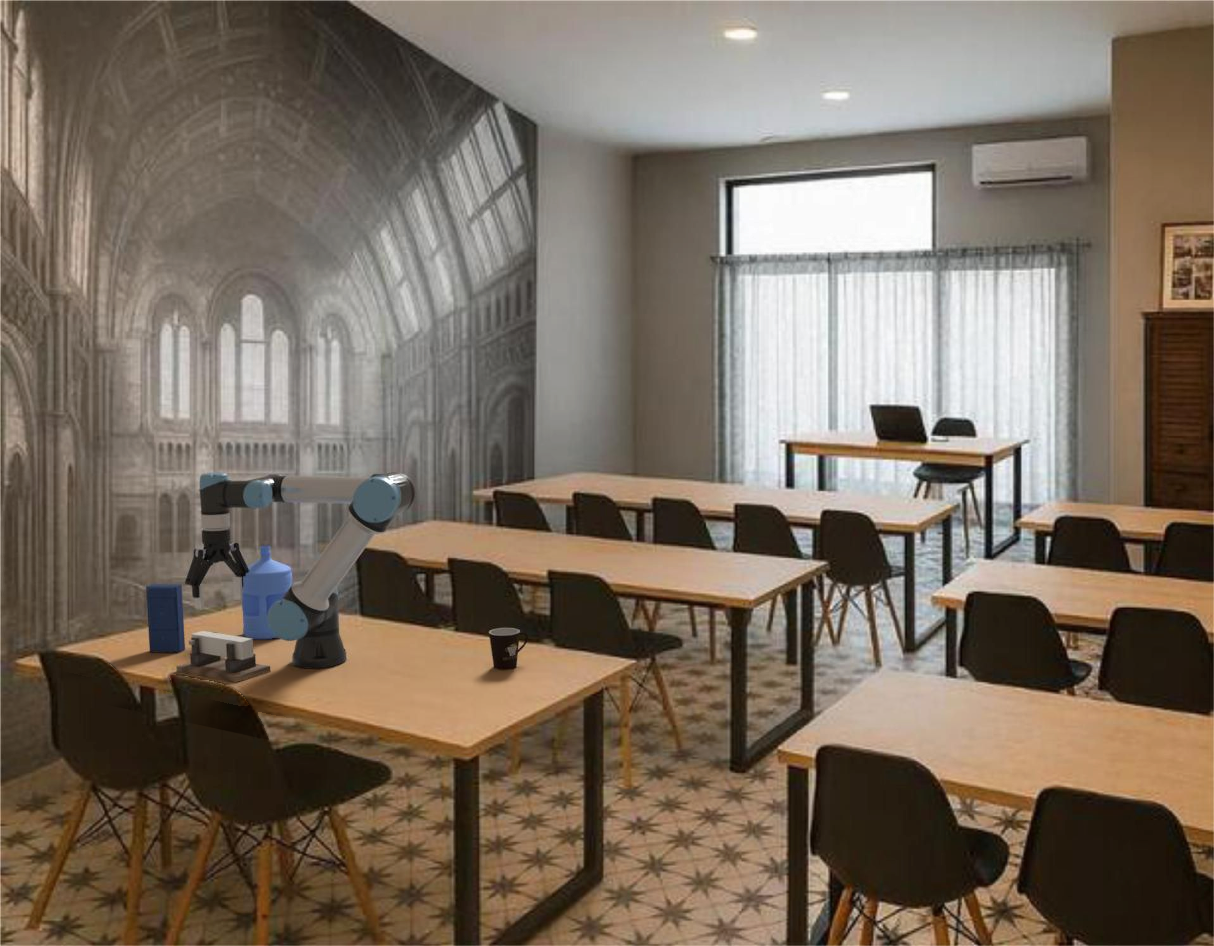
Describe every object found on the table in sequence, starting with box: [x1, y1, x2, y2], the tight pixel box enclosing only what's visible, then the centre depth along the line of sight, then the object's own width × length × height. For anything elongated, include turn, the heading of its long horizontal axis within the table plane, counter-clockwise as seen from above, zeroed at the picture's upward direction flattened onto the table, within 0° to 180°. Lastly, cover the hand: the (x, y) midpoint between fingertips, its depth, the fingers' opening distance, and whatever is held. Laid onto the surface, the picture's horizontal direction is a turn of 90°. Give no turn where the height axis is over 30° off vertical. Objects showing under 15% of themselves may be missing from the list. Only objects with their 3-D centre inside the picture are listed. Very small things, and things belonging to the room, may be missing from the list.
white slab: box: [190, 630, 254, 660], centre depth 317 cm, size 20×4×5 cm, turn 60°
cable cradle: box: [176, 631, 271, 683], centre depth 317 cm, size 24×12×10 cm, turn 60°
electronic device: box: [145, 583, 186, 653], centre depth 340 cm, size 10×5×20 cm, turn 84°
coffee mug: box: [488, 627, 529, 671], centre depth 318 cm, size 12×9×10 cm
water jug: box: [241, 545, 293, 640], centre depth 358 cm, size 16×16×28 cm
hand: (219, 604), depth 315 cm, fingers open, 13 cm apart
